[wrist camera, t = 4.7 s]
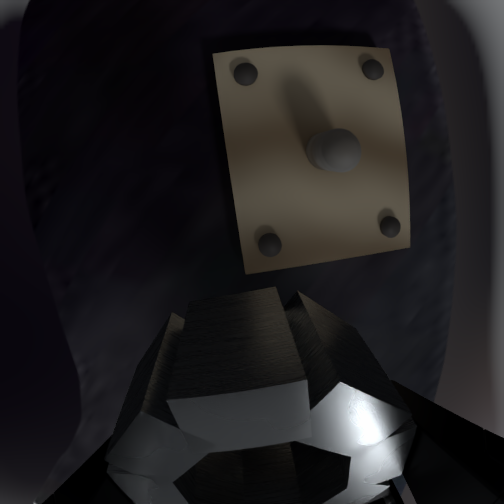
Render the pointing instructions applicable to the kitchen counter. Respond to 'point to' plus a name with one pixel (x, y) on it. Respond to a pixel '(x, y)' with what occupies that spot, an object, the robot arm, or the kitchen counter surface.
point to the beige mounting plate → (314, 153)
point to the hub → (259, 409)
